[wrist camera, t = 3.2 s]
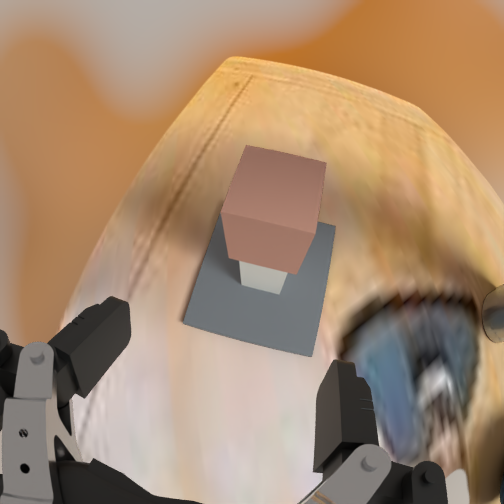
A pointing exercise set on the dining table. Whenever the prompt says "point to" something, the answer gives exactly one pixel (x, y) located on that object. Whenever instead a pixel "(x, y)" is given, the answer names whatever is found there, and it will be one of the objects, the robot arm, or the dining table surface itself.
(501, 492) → the decorative sphere
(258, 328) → the square base with post
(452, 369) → the dining table surface
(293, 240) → the cap
